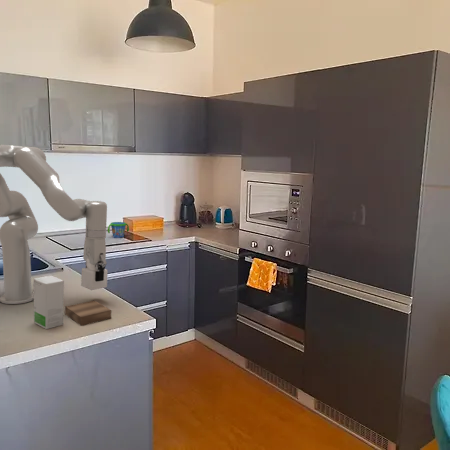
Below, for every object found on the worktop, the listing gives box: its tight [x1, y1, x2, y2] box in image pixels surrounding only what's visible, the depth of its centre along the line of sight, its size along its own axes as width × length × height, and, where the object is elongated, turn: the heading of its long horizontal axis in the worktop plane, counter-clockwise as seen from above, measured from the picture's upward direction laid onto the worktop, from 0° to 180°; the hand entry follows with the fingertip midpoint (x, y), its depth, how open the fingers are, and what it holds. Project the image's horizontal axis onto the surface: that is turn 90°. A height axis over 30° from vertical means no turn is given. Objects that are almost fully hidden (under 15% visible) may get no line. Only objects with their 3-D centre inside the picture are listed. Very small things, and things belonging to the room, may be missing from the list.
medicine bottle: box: [80, 259, 108, 291], centre depth 166 cm, size 7×7×12 cm
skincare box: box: [33, 274, 65, 330], centre depth 143 cm, size 8×7×16 cm
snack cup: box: [107, 221, 130, 239], centre depth 300 cm, size 16×10×10 cm
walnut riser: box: [64, 300, 112, 326], centre depth 152 cm, size 13×11×3 cm
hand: (94, 277), depth 167 cm, fingers closed on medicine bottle, 7 cm apart
